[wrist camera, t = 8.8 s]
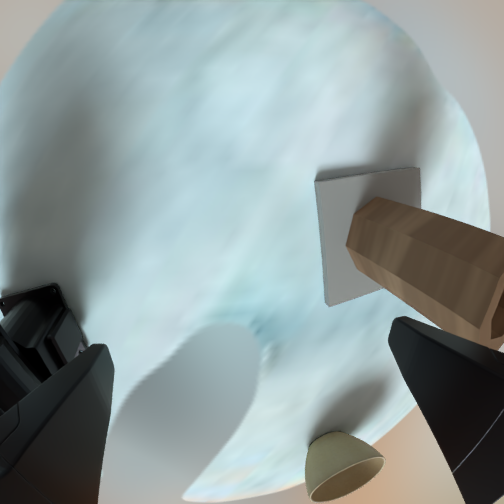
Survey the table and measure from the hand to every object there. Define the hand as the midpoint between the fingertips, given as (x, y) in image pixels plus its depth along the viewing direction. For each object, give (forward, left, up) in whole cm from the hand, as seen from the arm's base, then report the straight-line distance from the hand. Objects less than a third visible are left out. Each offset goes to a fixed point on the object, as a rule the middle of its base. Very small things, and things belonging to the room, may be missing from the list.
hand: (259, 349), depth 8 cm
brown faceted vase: (+13, -3, -12) cm, 18 cm away
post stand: (+13, -3, -13) cm, 19 cm away
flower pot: (+8, -30, -13) cm, 33 cm away
